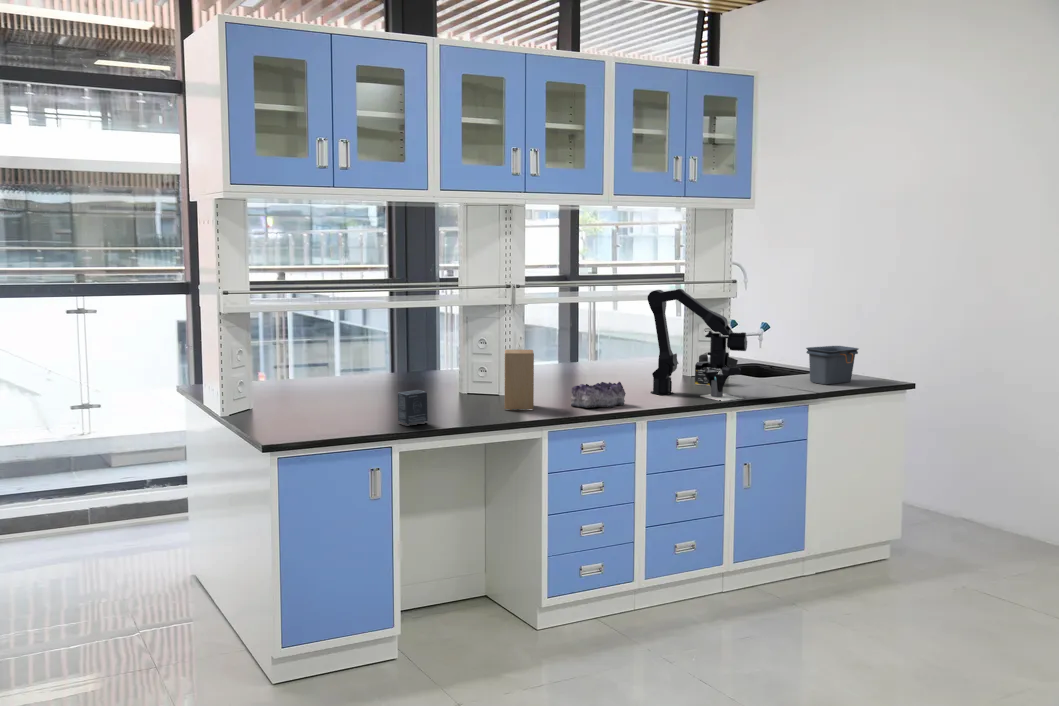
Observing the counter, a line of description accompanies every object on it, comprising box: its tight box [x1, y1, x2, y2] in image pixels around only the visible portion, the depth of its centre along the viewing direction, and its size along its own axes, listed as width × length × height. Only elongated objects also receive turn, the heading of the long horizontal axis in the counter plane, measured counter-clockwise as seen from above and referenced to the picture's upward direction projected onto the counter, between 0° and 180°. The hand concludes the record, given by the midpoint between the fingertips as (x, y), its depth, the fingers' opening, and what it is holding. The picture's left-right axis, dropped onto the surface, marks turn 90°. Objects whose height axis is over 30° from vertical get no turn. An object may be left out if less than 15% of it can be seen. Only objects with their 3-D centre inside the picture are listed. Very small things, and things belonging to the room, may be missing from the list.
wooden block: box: [504, 349, 535, 411], centre depth 339 cm, size 10×10×20 cm
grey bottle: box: [710, 377, 724, 397], centre depth 363 cm, size 3×3×7 cm
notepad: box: [700, 392, 745, 402], centre depth 363 cm, size 11×12×1 cm
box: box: [397, 389, 429, 424], centre depth 311 cm, size 8×6×11 cm
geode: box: [570, 381, 626, 409], centre depth 345 cm, size 20×12×10 cm, turn 117°
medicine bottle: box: [694, 353, 711, 387], centre depth 393 cm, size 7×7×12 cm
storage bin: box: [805, 345, 860, 385], centre depth 399 cm, size 21×16×14 cm
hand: (716, 391), depth 363 cm, fingers closed on grey bottle, 3 cm apart
